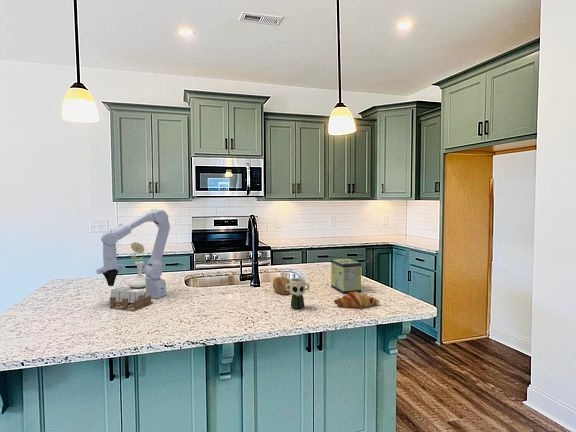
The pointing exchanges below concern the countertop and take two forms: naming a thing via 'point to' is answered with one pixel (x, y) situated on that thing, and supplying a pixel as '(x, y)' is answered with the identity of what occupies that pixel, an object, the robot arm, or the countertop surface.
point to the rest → (137, 304)
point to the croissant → (356, 300)
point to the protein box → (345, 275)
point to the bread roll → (281, 284)
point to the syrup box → (127, 294)
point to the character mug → (297, 291)
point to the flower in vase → (138, 267)
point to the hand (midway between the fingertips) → (111, 285)
